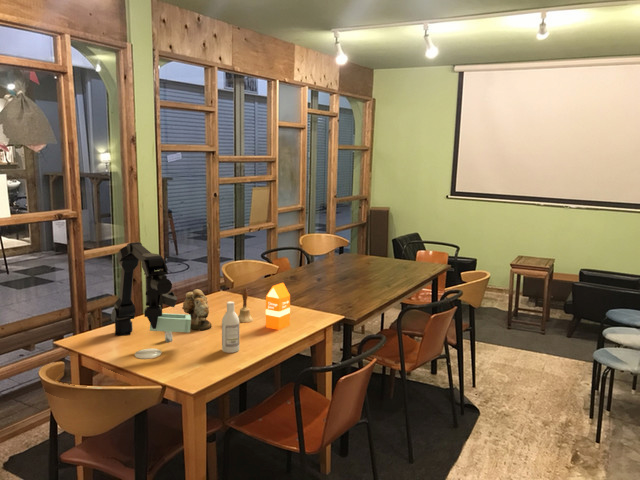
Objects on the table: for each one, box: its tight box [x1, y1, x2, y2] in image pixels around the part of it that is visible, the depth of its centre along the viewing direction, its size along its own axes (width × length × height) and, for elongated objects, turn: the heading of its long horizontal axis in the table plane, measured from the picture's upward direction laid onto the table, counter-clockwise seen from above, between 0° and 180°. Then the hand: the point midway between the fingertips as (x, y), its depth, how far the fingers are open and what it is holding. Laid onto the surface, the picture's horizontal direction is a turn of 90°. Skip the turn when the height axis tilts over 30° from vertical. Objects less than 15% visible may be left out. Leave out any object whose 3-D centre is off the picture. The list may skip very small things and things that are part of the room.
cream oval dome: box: [134, 348, 162, 360], centre depth 206 cm, size 10×10×1 cm
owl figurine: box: [181, 288, 213, 332], centre depth 242 cm, size 18×12×17 cm, turn 48°
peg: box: [164, 331, 173, 343], centre depth 221 cm, size 3×3×6 cm
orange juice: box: [265, 282, 291, 331], centre depth 243 cm, size 8×9×20 cm
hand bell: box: [237, 287, 254, 324], centre depth 251 cm, size 8×8×16 cm
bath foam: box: [221, 301, 240, 354], centre depth 211 cm, size 7×7×20 cm
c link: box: [149, 312, 191, 333], centre depth 208 cm, size 15×12×5 cm
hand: (154, 327), depth 202 cm, fingers closed on c link, 2 cm apart
